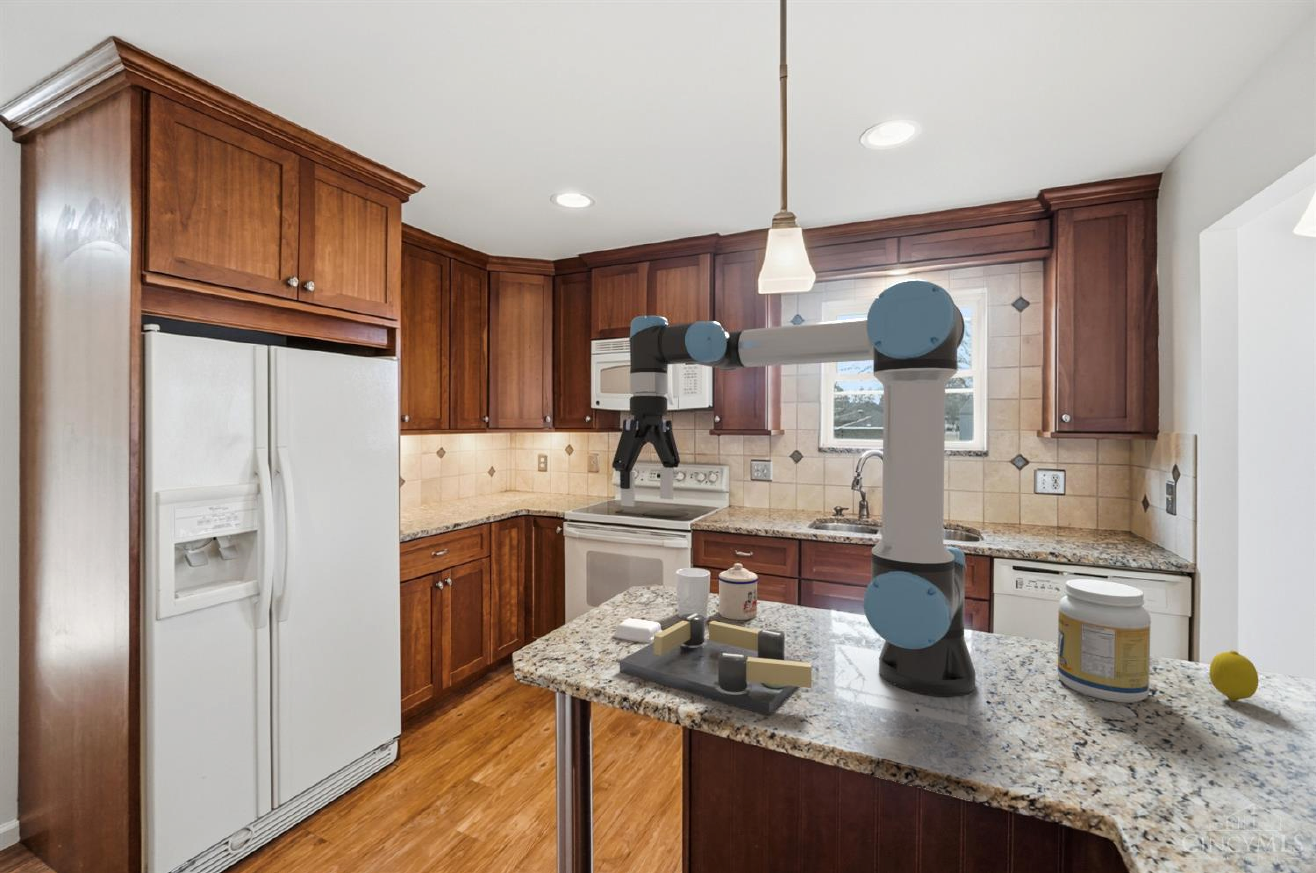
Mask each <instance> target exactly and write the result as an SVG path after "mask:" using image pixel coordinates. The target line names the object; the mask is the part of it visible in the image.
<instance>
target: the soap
mask: <svg viewBox="0 0 1316 873" xmlns="http://www.w3.org/2000/svg"><path fill="white" fill-rule="evenodd" d="M662 631H663V630H662V625H661V624H660V622H658V621H652V620H645V619H640V618H639V619H638V618H632V617H628V618H626V619H624V620H623V621H621V622H620V623H619V624H618V625H617V626H616V628H615V632H614V634H613V636H614V638H616V639H617V638H618V639H622V640H626V641H627V640H628V641H633V642H640V643H646V644H647V643H648V644H651V643H653V642H654V635H656V634H658V633H660V632H662Z"/></svg>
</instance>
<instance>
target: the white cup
mask: <svg viewBox="0 0 1316 873" xmlns="http://www.w3.org/2000/svg"><path fill="white" fill-rule="evenodd" d="M710 583H711V572H710V570H707V569H704V568H698V567H685V568H680V569H677V570H676V571H675V585H676V586H675V592H676V604H677V616H678V617H679V618H680V617H681V616H682V615H684V614H695V613H696V614H699V615H702V616H704V617H705V619H706V618H707V617H708V616H709V615H708V611H709V610H708V609H709V601H710V588H711V587H710V586H711V585H710Z"/></svg>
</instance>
